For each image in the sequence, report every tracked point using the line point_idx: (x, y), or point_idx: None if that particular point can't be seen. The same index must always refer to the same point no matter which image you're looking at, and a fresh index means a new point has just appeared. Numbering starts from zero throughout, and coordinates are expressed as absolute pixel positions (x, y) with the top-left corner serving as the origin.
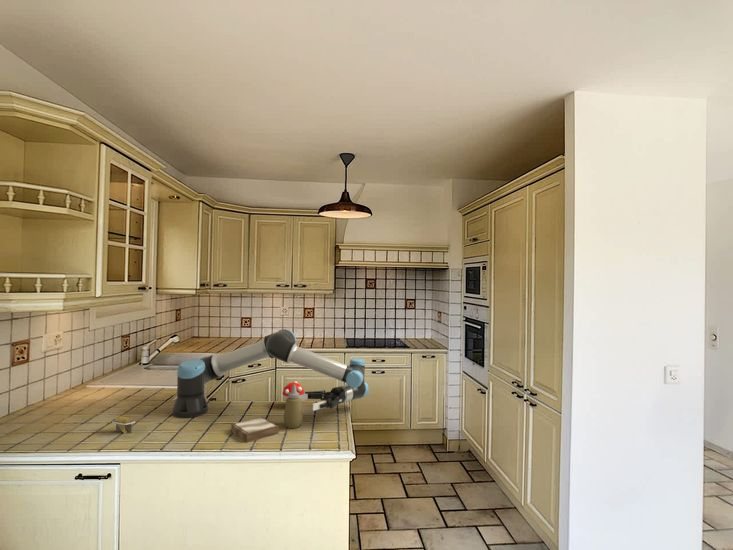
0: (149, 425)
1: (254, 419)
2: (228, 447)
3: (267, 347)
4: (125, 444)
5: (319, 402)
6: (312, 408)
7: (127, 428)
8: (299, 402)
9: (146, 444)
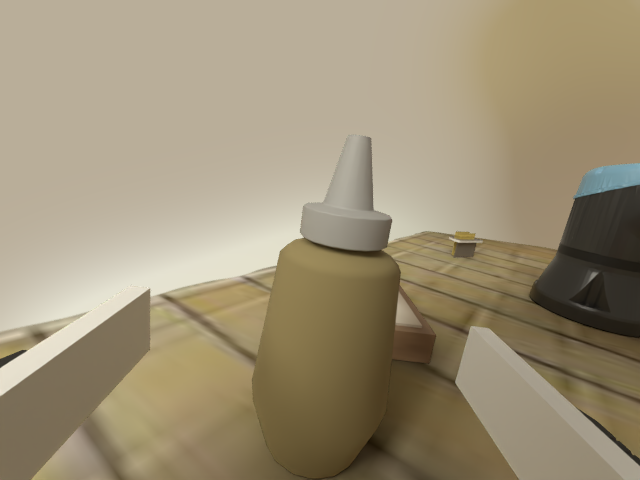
0: (486, 269)
1: (406, 308)
2: None
3: None
4: (405, 247)
5: (71, 336)
6: (148, 333)
7: (459, 251)
8: (279, 268)
9: (393, 250)
